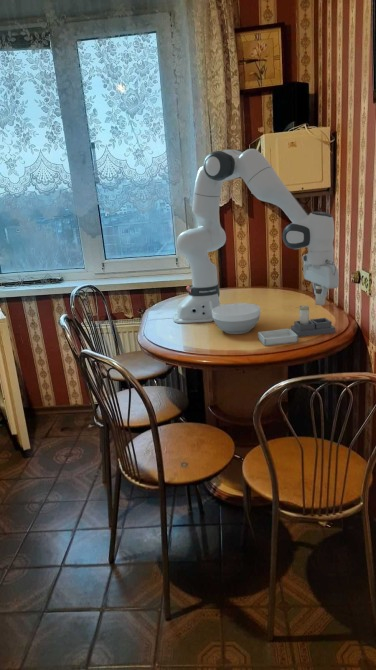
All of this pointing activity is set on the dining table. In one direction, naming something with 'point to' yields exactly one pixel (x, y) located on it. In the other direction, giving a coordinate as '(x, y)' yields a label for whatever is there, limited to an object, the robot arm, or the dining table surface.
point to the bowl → (236, 317)
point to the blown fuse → (318, 298)
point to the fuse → (304, 315)
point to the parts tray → (277, 337)
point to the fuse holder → (313, 327)
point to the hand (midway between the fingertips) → (320, 295)
